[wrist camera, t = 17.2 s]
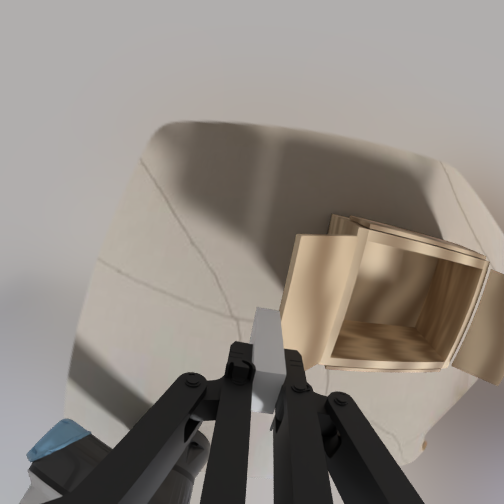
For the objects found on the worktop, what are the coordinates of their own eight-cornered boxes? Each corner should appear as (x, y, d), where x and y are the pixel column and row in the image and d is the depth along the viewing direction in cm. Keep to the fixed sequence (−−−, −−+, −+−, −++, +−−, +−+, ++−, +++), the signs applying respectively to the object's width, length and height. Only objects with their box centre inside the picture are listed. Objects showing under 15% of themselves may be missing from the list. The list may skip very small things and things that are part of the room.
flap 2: (498, 386, 20) (497, 384, 20) (541, 291, 17) (541, 290, 17) (451, 365, 25) (451, 364, 25) (491, 269, 22) (490, 269, 22)
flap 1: (320, 362, 25) (316, 360, 25) (358, 236, 22) (354, 235, 22) (261, 393, 20) (258, 391, 20) (301, 235, 17) (296, 233, 17)
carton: (304, 322, 36) (316, 368, 26) (332, 209, 32) (360, 221, 22) (414, 334, 36) (445, 371, 26) (446, 239, 32) (490, 257, 22)
